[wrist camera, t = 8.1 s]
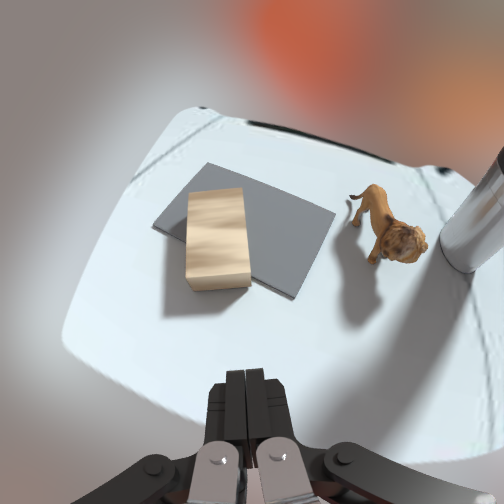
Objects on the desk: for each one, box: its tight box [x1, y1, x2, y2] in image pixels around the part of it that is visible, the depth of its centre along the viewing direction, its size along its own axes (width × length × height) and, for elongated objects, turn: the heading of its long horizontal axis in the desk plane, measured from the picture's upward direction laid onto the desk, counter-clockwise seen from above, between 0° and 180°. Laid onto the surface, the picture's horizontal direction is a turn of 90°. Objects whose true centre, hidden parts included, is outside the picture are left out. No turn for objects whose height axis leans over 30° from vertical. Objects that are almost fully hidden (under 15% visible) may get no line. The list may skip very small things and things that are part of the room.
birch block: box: [186, 188, 251, 291], centre depth 33 cm, size 4×7×12 cm
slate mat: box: [153, 163, 336, 298], centre depth 37 cm, size 14×22×1 cm, turn 61°
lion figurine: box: [349, 184, 428, 264], centre depth 32 cm, size 15×5×9 cm, turn 17°
